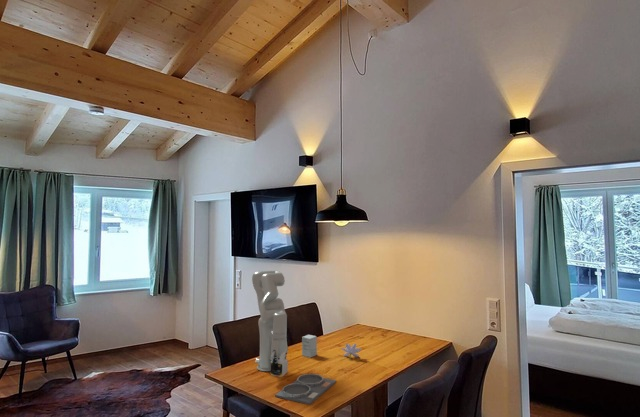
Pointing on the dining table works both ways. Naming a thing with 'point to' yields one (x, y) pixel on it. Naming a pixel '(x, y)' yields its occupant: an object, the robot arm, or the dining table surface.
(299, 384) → the steel rings
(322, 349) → the dining table surface
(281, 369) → the medicine bottle
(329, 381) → the socket board
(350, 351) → the water lily
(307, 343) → the supplement box
